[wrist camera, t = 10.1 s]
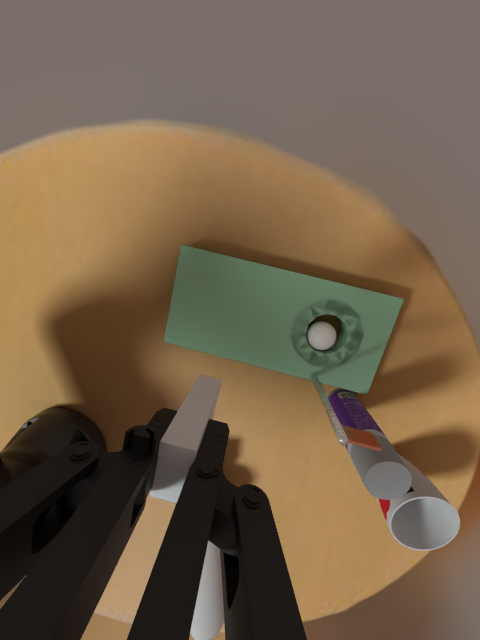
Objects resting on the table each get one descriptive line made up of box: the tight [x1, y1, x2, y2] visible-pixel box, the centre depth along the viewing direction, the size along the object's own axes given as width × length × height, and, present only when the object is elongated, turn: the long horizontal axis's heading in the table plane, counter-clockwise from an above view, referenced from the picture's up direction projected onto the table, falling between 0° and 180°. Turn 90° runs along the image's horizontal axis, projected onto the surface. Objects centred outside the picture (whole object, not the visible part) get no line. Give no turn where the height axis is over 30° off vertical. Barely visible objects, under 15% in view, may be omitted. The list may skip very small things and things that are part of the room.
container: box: [328, 388, 412, 500], centre depth 32 cm, size 5×5×15 cm
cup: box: [377, 453, 460, 551], centre depth 36 cm, size 8×8×10 cm
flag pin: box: [310, 373, 382, 452], centre depth 29 cm, size 4×1×14 cm, turn 76°
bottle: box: [190, 541, 224, 640], centre depth 42 cm, size 9×9×30 cm
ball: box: [306, 321, 336, 350], centre depth 36 cm, size 4×4×4 cm
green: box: [164, 244, 404, 395], centre depth 36 cm, size 30×14×3 cm, turn 77°
